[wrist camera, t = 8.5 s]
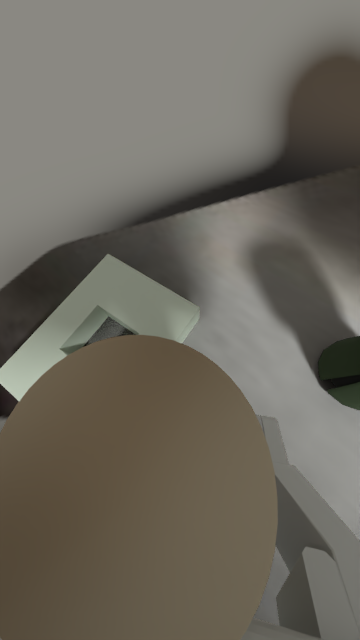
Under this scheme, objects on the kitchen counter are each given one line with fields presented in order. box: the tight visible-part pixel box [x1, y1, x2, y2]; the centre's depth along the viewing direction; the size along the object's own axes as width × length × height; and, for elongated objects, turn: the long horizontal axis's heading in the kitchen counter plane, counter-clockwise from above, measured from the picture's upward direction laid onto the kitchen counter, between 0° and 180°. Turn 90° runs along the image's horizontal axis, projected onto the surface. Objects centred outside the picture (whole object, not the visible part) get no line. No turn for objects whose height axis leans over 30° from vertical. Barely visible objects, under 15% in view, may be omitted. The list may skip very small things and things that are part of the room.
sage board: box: [0, 254, 200, 401], centre depth 22 cm, size 12×16×3 cm
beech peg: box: [0, 335, 278, 640], centre depth 8 cm, size 4×4×12 cm
